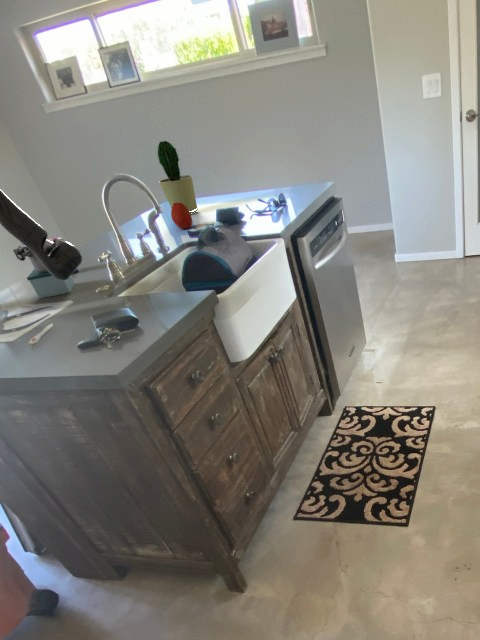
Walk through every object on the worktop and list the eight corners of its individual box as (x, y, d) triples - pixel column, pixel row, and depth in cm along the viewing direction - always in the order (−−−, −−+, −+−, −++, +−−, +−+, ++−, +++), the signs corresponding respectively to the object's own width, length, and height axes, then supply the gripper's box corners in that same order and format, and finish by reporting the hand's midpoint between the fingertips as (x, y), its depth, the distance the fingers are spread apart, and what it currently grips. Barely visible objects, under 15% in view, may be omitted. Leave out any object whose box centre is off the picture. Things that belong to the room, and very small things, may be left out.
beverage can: (38, 269, 175) (17, 231, 167) (58, 265, 176) (38, 227, 168) (35, 274, 170) (14, 235, 162) (56, 270, 172) (35, 231, 164)
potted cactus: (172, 219, 247) (146, 143, 227) (169, 214, 258) (144, 141, 238) (204, 212, 250) (181, 137, 230) (199, 207, 261) (177, 135, 241)
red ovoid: (172, 231, 228) (162, 203, 221) (184, 225, 233) (175, 198, 226) (186, 231, 225) (176, 203, 218) (198, 225, 230) (189, 198, 223)
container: (38, 299, 173) (26, 277, 169) (45, 289, 181) (34, 269, 177) (70, 292, 175) (60, 271, 170) (76, 283, 182) (66, 262, 178)
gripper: (64, 233, 161) (49, 228, 171) (16, 246, 154) (3, 239, 164) (76, 259, 166) (61, 252, 175) (30, 272, 159) (17, 264, 169)
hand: (33, 246), depth 170 cm, fingers open, 7 cm apart
